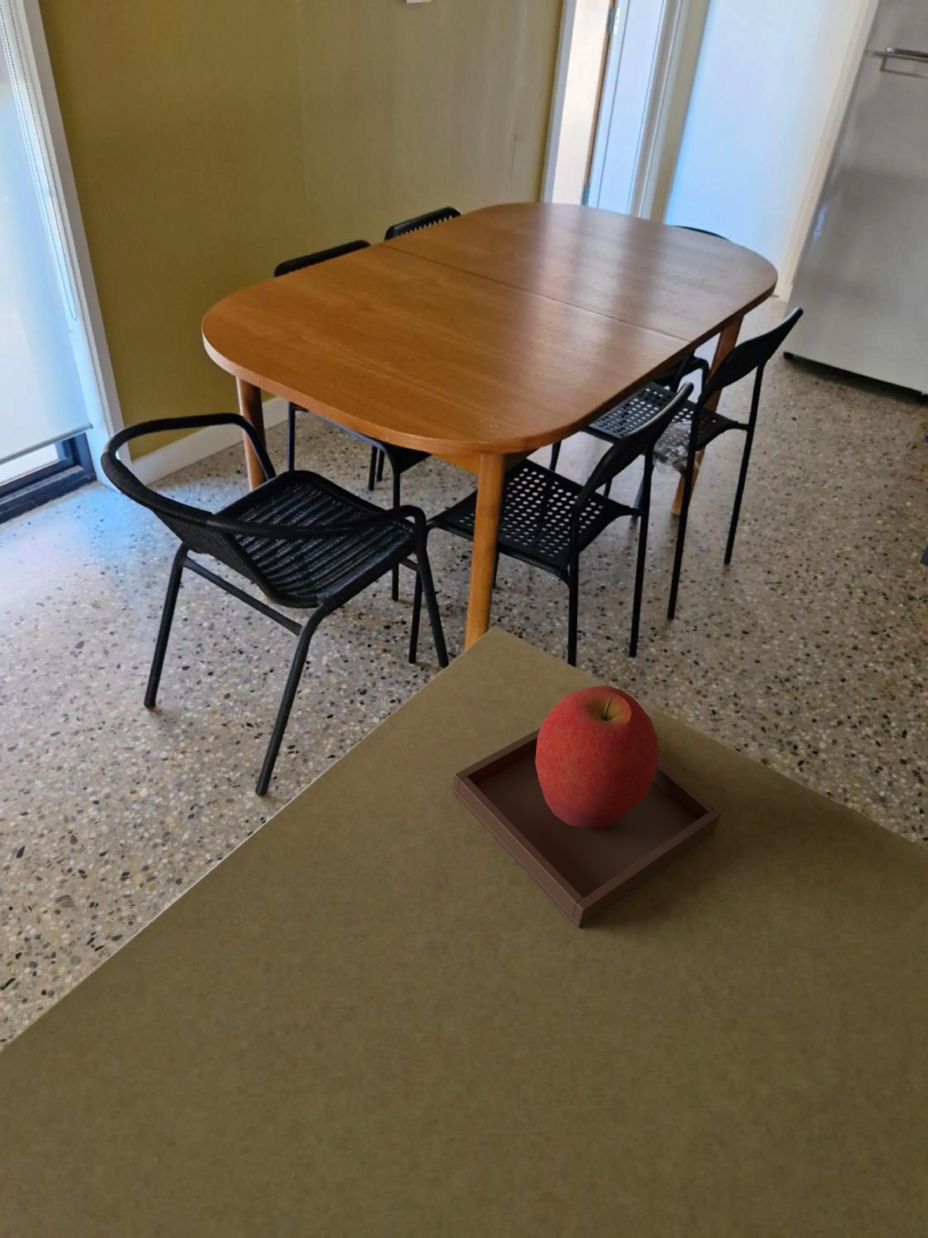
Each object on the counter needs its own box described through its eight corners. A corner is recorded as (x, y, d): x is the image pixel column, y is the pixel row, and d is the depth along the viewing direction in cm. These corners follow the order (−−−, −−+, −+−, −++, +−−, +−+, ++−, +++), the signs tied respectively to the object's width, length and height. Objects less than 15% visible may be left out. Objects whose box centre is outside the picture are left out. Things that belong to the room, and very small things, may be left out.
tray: (714, 831, 78) (722, 813, 77) (578, 928, 70) (583, 910, 68) (585, 719, 88) (589, 701, 87) (452, 792, 80) (454, 774, 78)
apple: (543, 752, 84) (563, 640, 75) (648, 783, 82) (682, 671, 73) (513, 835, 76) (531, 721, 67) (628, 872, 74) (662, 759, 65)
